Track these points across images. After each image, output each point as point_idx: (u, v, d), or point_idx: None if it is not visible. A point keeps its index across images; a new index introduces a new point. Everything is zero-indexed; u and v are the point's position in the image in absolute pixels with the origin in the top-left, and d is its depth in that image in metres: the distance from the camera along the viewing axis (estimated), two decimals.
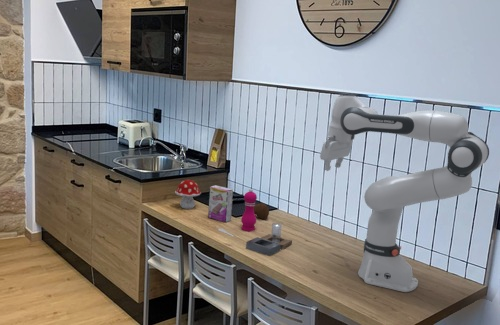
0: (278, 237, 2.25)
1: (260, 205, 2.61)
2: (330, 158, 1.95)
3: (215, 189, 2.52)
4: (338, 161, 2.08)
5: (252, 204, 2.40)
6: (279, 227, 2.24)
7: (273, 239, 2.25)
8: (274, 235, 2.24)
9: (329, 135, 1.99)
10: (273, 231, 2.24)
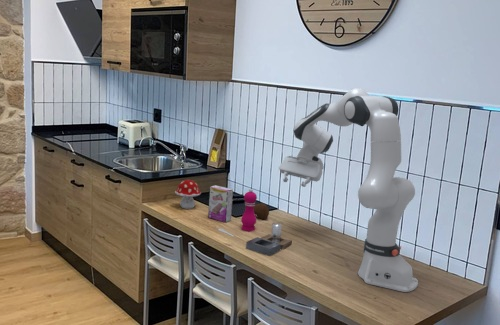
0: (278, 237, 2.25)
1: (260, 205, 2.61)
2: (282, 167, 2.37)
3: (215, 189, 2.52)
4: None
5: (252, 204, 2.40)
6: (279, 227, 2.24)
7: (273, 239, 2.25)
8: (274, 235, 2.24)
9: None
10: (273, 231, 2.24)
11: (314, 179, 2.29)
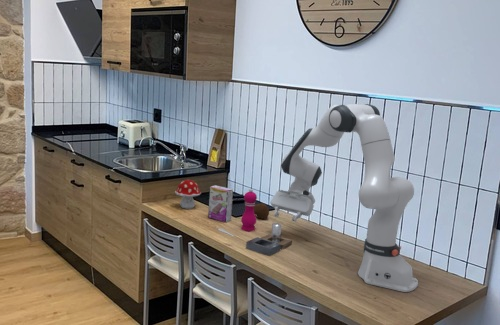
0: (278, 237, 2.25)
1: (260, 205, 2.61)
2: (274, 202, 2.36)
3: (215, 189, 2.52)
4: None
5: (252, 204, 2.40)
6: (279, 227, 2.24)
7: (273, 239, 2.25)
8: (274, 235, 2.24)
9: None
10: (273, 231, 2.24)
11: (305, 214, 2.28)
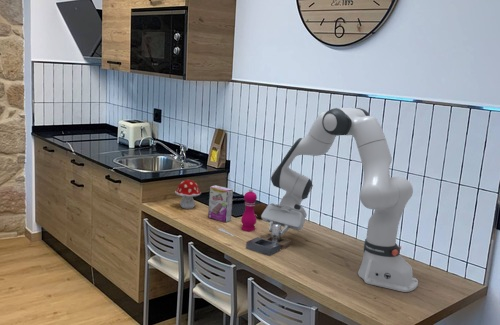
0: (278, 237, 2.25)
1: (260, 205, 2.61)
2: (264, 216, 2.31)
3: (215, 189, 2.52)
4: None
5: (252, 204, 2.40)
6: (279, 227, 2.24)
7: (273, 239, 2.25)
8: (274, 235, 2.24)
9: None
10: (273, 231, 2.24)
11: (296, 228, 2.23)
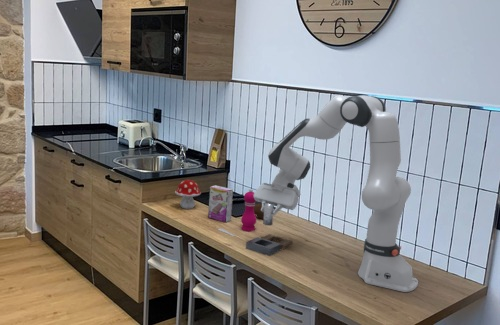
0: (270, 216, 2.16)
1: (260, 205, 2.61)
2: (257, 195, 2.23)
3: (215, 189, 2.52)
4: None
5: (252, 204, 2.40)
6: (271, 206, 2.15)
7: (265, 219, 2.16)
8: (266, 215, 2.16)
9: None
10: (265, 210, 2.16)
11: (289, 207, 2.14)
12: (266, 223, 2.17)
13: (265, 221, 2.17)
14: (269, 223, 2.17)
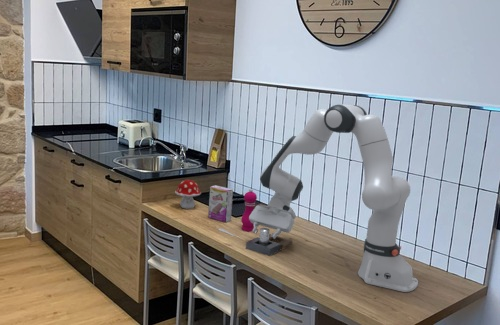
0: (266, 242, 2.16)
1: None
2: (252, 217, 2.23)
3: (215, 189, 2.52)
4: None
5: (252, 204, 2.40)
6: (267, 232, 2.16)
7: None
8: (262, 241, 2.16)
9: None
10: (261, 236, 2.16)
11: (285, 230, 2.14)
12: None
13: None
14: None
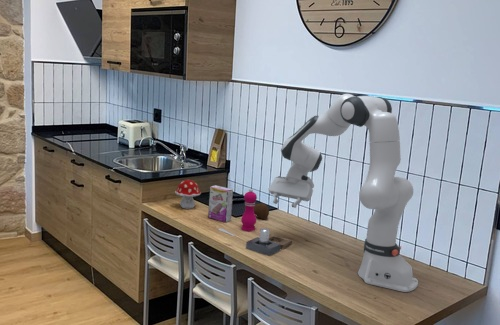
0: (266, 242, 2.16)
1: (260, 205, 2.61)
2: (272, 189, 2.31)
3: (215, 189, 2.52)
4: None
5: (252, 204, 2.40)
6: (267, 232, 2.16)
7: None
8: (262, 241, 2.16)
9: None
10: (261, 236, 2.16)
11: (304, 199, 2.23)
12: None
13: None
14: None
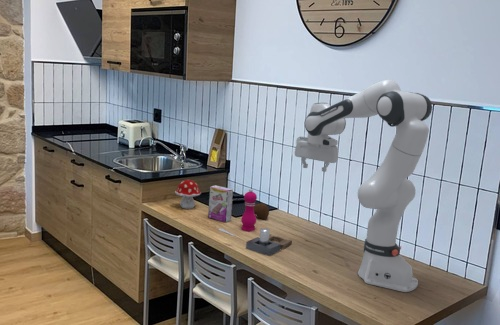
0: (266, 242, 2.16)
1: (260, 205, 2.61)
2: (298, 154, 2.31)
3: (215, 189, 2.52)
4: None
5: (252, 204, 2.40)
6: (267, 232, 2.16)
7: None
8: (262, 241, 2.16)
9: None
10: (261, 236, 2.16)
11: None
12: None
13: None
14: None
